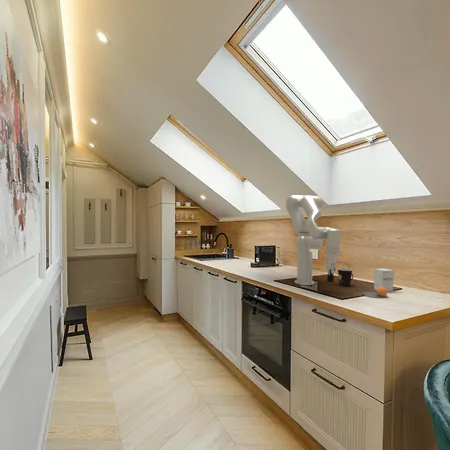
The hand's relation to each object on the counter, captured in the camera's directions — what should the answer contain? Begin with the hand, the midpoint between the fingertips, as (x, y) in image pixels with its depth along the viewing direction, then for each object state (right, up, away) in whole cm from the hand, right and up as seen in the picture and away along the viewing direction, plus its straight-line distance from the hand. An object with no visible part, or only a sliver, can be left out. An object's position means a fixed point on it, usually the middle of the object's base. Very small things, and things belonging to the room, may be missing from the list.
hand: (330, 281), depth 169 cm
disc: (+22, -6, -6) cm, 24 cm away
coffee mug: (+16, -6, +18) cm, 25 cm away
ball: (+25, -4, -9) cm, 27 cm away
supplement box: (+34, -7, +6) cm, 35 cm away
